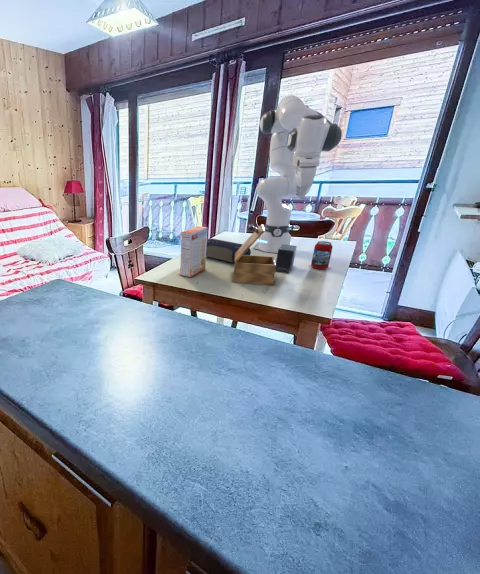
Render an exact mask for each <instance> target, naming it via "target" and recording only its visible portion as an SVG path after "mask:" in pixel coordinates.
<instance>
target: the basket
mask: <svg viewBox="0 0 480 574" xmlns="http://www.w3.org/2000/svg"><path fill="white" fill-rule="evenodd" d="M275 259H276V258H275V257H274V256H271V255H269V256H268V255H252V254H250V255H242V256H241V257H240V259H239V260H238V261H237V262H235V263H234V265H233V276H232V282H233V283H239V284H243V283H244V284H252V285H253V284H254V285H265V286H274V282H275V276H276V271H275V270H276V260H275Z"/></svg>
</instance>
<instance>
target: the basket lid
mask: <svg viewBox="0 0 480 574" xmlns="http://www.w3.org/2000/svg"><path fill="white" fill-rule="evenodd" d="M264 227H265V225H264V224H262V223H261V224H260V225H259V226H258V227H256V226H254V224H253V222H252V223H249V224H248V230H249V231H253V233H252V234H251V235H250V236H249V237H248V238H247V239H246V240H245V241H244V243H242V244H243V245H242V246H241V247H240V248H239V249H238V250H237V251H236V253H235V262H237V261H238V260H239V259H240V257H241V256H242V255H243V254H244V253H245V252H246V251H247V250H248V249H249V248H250V249H251V247H252V246H253V245H254V244H255V243H256V242H257V240H259V237H260V236H261V235H262V234H263V233H264V232H265V230H264Z"/></svg>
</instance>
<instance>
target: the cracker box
mask: <svg viewBox="0 0 480 574" xmlns="http://www.w3.org/2000/svg"><path fill="white" fill-rule="evenodd" d="M180 234H181V237H180V266H179V267H180V271H179V272H180V276H183V277H188V278H192V277H194V276H196V275H198V274H199V273H202V272H203V271H205V270H206V261H207V260H206V259H207V256H206V245H207V239H208V226H199V225H198V226H195V227H192V228H189V229H186V230H184V231H182V232H181V233H180Z"/></svg>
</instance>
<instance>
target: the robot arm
mask: <svg viewBox="0 0 480 574" xmlns="http://www.w3.org/2000/svg"><path fill="white" fill-rule="evenodd" d="M259 129H260V131H261V133H262V134H263V135H270V134H272V135H271V138H270V144H269V164H270V168H271V170H272V171H273V172H275V173H277V174H278V175H280V176H271V177H267V178H262V179H260V180H259V182H258V183H257V186H256V188H255V189H256V191H255V192H256V195H257V196H258V198H260V199H261V200H262V201H263V202H264V204H265V206H266V221H265V224H264V230H265V232H264V233H263V234H262V235H261V236H260V237H259V238H258V239H257V240H256V242H257V244H256V245H255V246H254V249H255V250H260V251H261V252H265V253H273V254H277V253H278V249H279V248H280V247H281V245H282V244H286V245H292V244H293V243H292V242H291V241H292V235H291V234H290V233H289V232H290V230H291V229H290V228H291V224H290V222H291V221H290V220H291V215H292V211H291V210H292V209H290V207H289V206H287V205H286V204H283V199H296V198H298V199H299V200H304V199H305V198H306V195H307V194H308V193H310V190H311V187H312V186H313V183H314V180H315V176H316V172H317V168H318V167H319V166H320V163H321V162H320V159H321V154H322V152H330V151H332V150H333V149H334V148H336V147H337V146H338V145H339V144H340V143H341V140H342V136H343V131H342V128H341V126H339V125H338V124H337V123H335V122H334V123H333V122H332V121H330V120H329V119H328V118H327V117H326V116H325V115H323V114H322V113H321V112H319V111H317V110H314V109H312V108H310V107H309V105H306V104H305V103H304V101H303V100H302V99H301V98H299V97H298V96H297V95H291V94H290V95H287V96H285V97H283V98H282V99H281V100H280V101H279V103H278V105H277V108H276V109H270V110H269V111H266V112H265V113H264V114H262V115H261V118H260V121H259Z"/></svg>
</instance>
